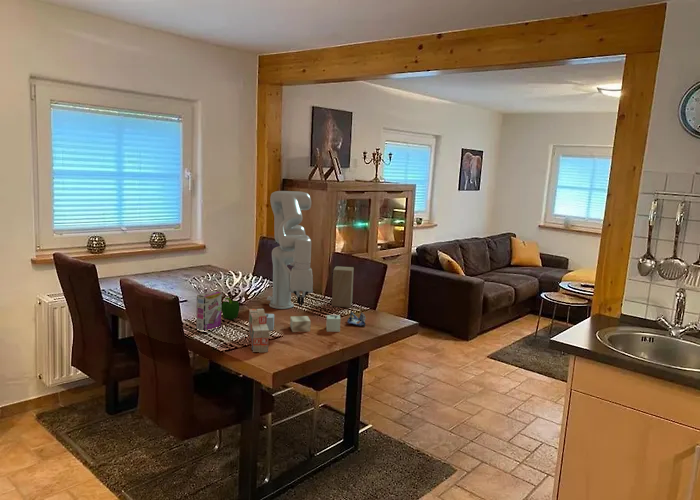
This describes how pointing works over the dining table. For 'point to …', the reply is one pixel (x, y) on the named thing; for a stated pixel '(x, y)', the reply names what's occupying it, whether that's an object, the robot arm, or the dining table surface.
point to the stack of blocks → (258, 330)
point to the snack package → (357, 319)
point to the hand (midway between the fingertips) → (300, 304)
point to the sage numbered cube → (333, 323)
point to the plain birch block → (300, 323)
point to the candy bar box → (209, 310)
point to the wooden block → (342, 286)
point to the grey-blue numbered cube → (270, 321)
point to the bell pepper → (230, 309)
